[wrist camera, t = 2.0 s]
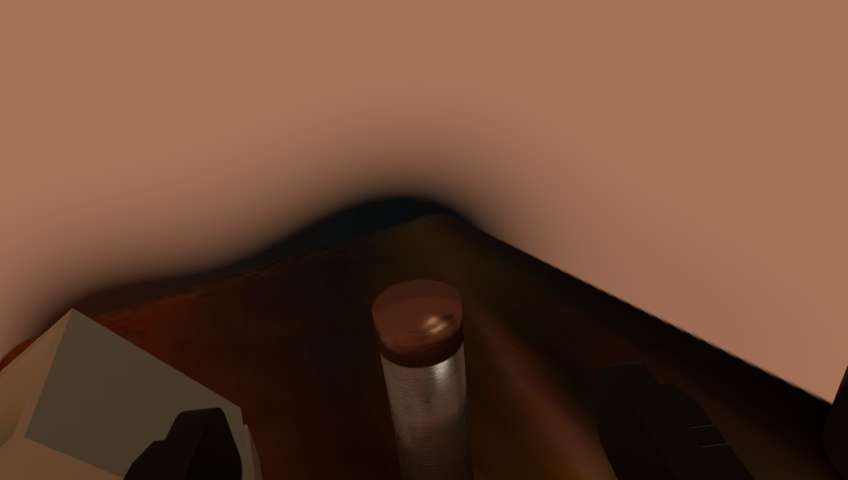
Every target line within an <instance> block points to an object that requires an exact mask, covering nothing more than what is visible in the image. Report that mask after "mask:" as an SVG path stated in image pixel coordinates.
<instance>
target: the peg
mask: <svg viewBox="0 0 848 480" xmlns="http://www.w3.org/2000/svg"><path fill="white" fill-rule="evenodd" d="M372 314H373V320H374V325H375V331H376V337H377V342H378V348H379V351H380V353H381V359H382V365H383V371H384V376H385V382H386V388H387V393H388V399H389V405H390V411H391V416H392V422H393V428H394V433H395V439H396V445H397V451H398V456H399V462H400V468H401V473H402V479H403V480H473V467H472V454H471V441H470V427H469V414H468V401H467V388H466V374H465V361H464V348H463V339H464V334H463V321H462V307H461V298H460V295H459V293H458V292H457V291H456V290H455V289H454V288H453V287H451V286H450V285H448V284H445V283H443V282H439V281H434V280H411V281H406V282H402V283H399V284H396V285H394V286H392V287H390V288H388V289H386V290H385V291H383V292H382V293H381V294H380V295H379V296H378V297H377V298H376V299H375V301H374V303H373V306H372Z"/></svg>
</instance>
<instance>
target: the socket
mask: <svg viewBox="0 0 848 480" xmlns="http://www.w3.org/2000/svg"><path fill="white" fill-rule="evenodd" d="M216 407H219V408H221V409H222V410H223V411H224V414H225V416H226V419H227V421H228V424H229V427H230V430H231V432H232V435H233V438H234V440H235V443H236V446H237V449H238V451H239V454H240V457H241V462H242V480H263V478H262V472H261V466H260V460H259V455H258V452H257V449H256V447H255V444H254V441H253V439H252V436H251V433H250V430H249V428H248V425H247V424H246V425H244V426H243V421H242V414H241V408H240V407H238V406H236V405H234V404H233V403H231V402H229V401H228V400H226V399H224V398H223V397H221V396H219V395H218V394H216V393H214V392H213V391H211V390H209V389H208V388H206V387H204V386H203V385H201V384H199V383H198V382H196V381H194V380H192V379H191V378H189V377H187V376H186V375H184V374H182V373H181V372H179V371H177V370H176V369H174V368H172V367H171V366H169V365H167V364H166V363H164V362H162V361H161V360H159V359H157V358H155V357H154V356H152V355H150V354H149V353H147V352H145V351H144V350H142V349H140V348H139V347H137V346H135V345H134V344H132V343H130V342H129V341H127V340H125V339H124V338H122V337H120V336H118V335H117V334H115V333H113V332H112V331H110V330H108V329H107V328H105V327H103V326H102V325H100V324H98V323H97V322H95V321H93V320H92V319H90V318H88V317H87V316H85V315H83V314H81V313H80V312H78V311H76V310H75V309H71V310H70V311H69V312H68V313H67V314H66V315H65V316H63V317H62V318H61V319H60V320H59V321H58V322H57V323H55V324H54V325H53V326H52V327H51V328H50V329H49V330H47V331H46V332H45V333H44V334H43V335H42V336H41V337H39V338H38V339H37V340H36V341H35V342H34V343H33V344H31V345H30V346H29V347H28V348H27V349H26V350H25V351H23V352H22V353H21V354H20V355H19V356H18V357H17V358H15V359H14V360H13V361H12V362H11V363H10V364H9V365H7V366H6V367H5V368H4V369H3V370H2V371H1V372H0V480H123V479H124V477H125V475H126V473H127V471H128V470H129V468H130V466H131V464H132V463H133V462H134V461H135V460H136V459H137V458H138V457H139V456H140V455H141V454H142V453H143V452H144V451H145V450H146V449H147V448H148V447H149V445H150V444H151V443H152V442H153V441H159V440H165V438H166V436H167V434H168V432H169V430H170V428H171V426H172V424H173V422H174V420H175V418H176V417H177V415H178V414H179V413H180V412H182V411H189V410H198V409H207V408H216Z"/></svg>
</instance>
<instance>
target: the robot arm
mask: <svg viewBox="0 0 848 480" xmlns="http://www.w3.org/2000/svg"><path fill="white" fill-rule="evenodd" d="M597 427H598V433H599V437H600V440H601V443H602V446H603V449H604V451H605V453H606V455H607V457H608V459H609V461H610V464H611V466H612V468H613V470H614V472H615V474H616V476H617V478H618V480H755V479H754V478H753V476H752V475H751V474H750V472H749V471H748V470H747V468H746V467H745V466H744V464H743V463H742V462H741V460H740V459H739V458H738V456H737V455H736V454H735V452H734V451H733V450H732V448H731V447H730V446H727V444H726V440H725V439H724V438H723V436H722V435H721V434H720V432H719V431H718V430H717V428H716V427H713V425H712V422H711V420H710V419H709V418H708V416H707V415H706V414H705V412H704V411H703V410H702V408H701V407H700V406H699V404H698V403H697V402H696V401H695V400H694V399H693V398H691V397H690V396H688V395H687V394H686V393H684V392H683V391H682V390H680V389H679V388H677V387H676V386H675V385H673V384H672V383H671V384H663V385H659V384H658V383H657V381H656V380H655V378H654V377H653V375H652V374H651V373H650V371H649V370H648V368H647V367H646V365H645V364H644V363H643V362H641V361H634V362H625V363H616V364H607V365H604V366H603V367H602V369H601V376H600V387H599V398H598V409H597ZM822 439H823V446H824V449H825V451H826V453H827V456H828V458H829V460H830V462H831V463H832V464H833V466H834V467H835V469H836V470H837V471H838V473H839V474H840V475H841V476H842V477H843V478H844V479H845V480H848V366H847V369H846V371H845V374H844V377H843V379H842V381H841V384H840V386H839V389H838V391H837V394H836V397H835V399H834V402H833V404H832V407H831V410H830V412H829V415H828V417H827V420H826V423H825V425H824V429H823V433H822ZM123 480H242V462H241V457H240V454H239V451H238V449H237V446H236V443H235V440H234V438H233V435H232V432H231V430H230V427H229V424H228V421H227V419H226V416H225V414H224V411H223V410H222V409H221V408H219V407H216V408H207V409H198V410H189V411H182V412H180V413H179V414H178V415H177V417H176V418H175V420H174V422H173V424H172V426H171V428H170V430H169V432H168V434H167V436H166V438H165V440H159V441H153V442H152V443H151V444H150V445H149V447H148V448H147V449H146V450H145V451H144V452H143V453H142V454H141V455H140V456H139V457H138V458H137V459H136V460H135V461H134V462H133V463H132V464H131V466H130V468H129V470H128V471H127V473H126V475H125V477H124V479H123Z"/></svg>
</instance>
